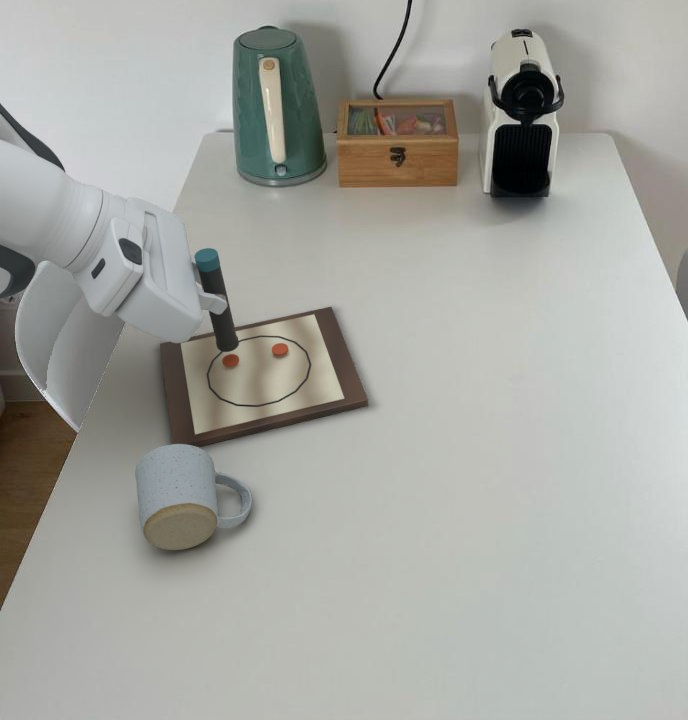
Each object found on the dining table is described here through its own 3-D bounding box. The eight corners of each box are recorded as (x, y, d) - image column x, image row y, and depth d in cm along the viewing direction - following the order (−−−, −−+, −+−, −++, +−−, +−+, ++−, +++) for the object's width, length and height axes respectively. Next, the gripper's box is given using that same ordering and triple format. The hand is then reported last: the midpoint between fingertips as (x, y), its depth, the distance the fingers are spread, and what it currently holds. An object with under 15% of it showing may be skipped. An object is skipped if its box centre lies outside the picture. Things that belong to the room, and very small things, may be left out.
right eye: (273, 357, 97) (273, 355, 97) (270, 346, 99) (270, 345, 99) (289, 353, 98) (289, 351, 98) (286, 343, 99) (286, 341, 99)
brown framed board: (175, 452, 89) (172, 445, 88) (161, 349, 102) (159, 342, 101) (368, 405, 93) (367, 398, 92) (332, 312, 106) (331, 305, 105)
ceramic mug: (151, 564, 78) (131, 516, 73) (145, 499, 84) (127, 450, 79) (259, 536, 81) (248, 487, 75) (247, 475, 86) (235, 425, 81)
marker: (218, 354, 94) (195, 263, 86) (215, 340, 96) (192, 250, 87) (240, 349, 95) (219, 258, 86) (237, 335, 97) (216, 245, 88)
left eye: (223, 368, 96) (223, 366, 96) (221, 357, 98) (221, 356, 97) (240, 364, 97) (240, 363, 96) (238, 354, 98) (237, 352, 98)
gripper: (89, 211, 91) (195, 264, 99) (93, 323, 76) (217, 374, 85) (118, 168, 89) (224, 226, 97) (129, 275, 74) (252, 332, 83)
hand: (221, 296), depth 91 cm, fingers closed on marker, 2 cm apart
